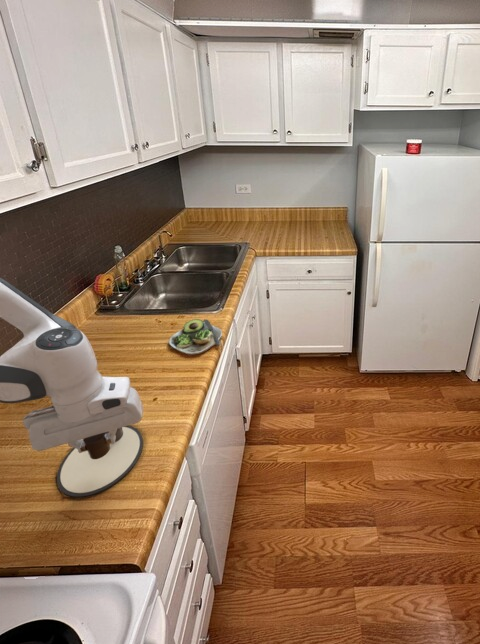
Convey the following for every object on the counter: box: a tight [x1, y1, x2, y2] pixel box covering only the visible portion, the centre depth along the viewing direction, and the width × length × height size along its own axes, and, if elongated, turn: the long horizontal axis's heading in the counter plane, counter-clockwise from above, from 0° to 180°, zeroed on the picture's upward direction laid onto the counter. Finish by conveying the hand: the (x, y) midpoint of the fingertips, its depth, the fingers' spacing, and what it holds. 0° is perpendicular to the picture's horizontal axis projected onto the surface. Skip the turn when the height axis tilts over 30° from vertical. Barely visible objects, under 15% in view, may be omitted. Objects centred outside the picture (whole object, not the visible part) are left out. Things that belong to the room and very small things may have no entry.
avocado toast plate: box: [168, 318, 223, 355], centre depth 122 cm, size 19×18×5 cm
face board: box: [56, 425, 144, 499], centre depth 81 cm, size 18×18×1 cm
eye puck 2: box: [106, 428, 123, 442], centre depth 85 cm, size 4×4×5 cm
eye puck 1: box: [84, 432, 110, 459], centre depth 74 cm, size 4×4×5 cm
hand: (98, 445), depth 74 cm, fingers closed on eye puck 1, 4 cm apart
